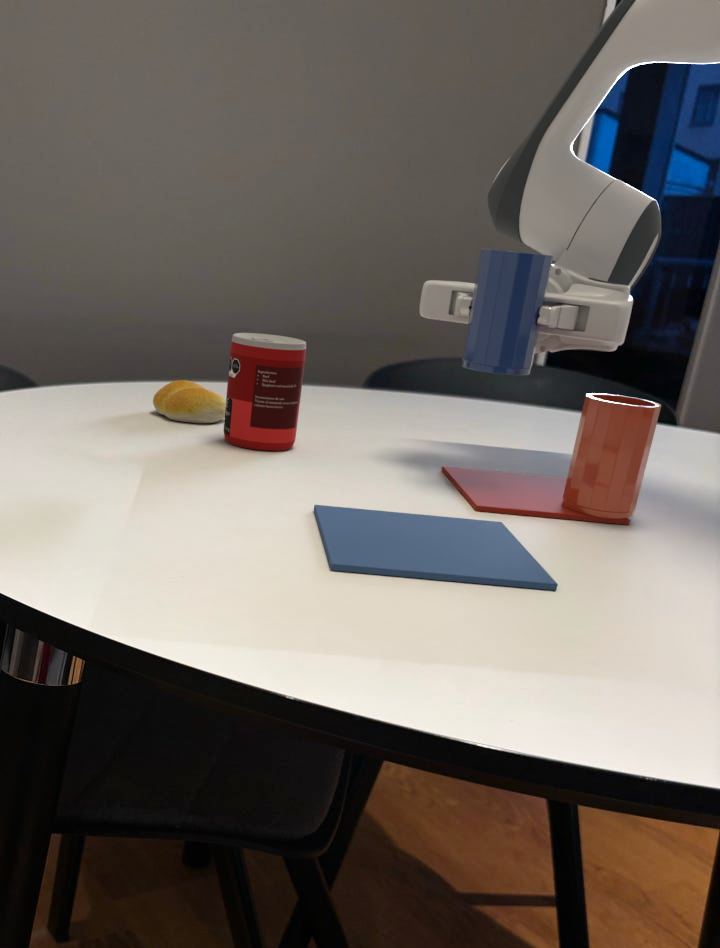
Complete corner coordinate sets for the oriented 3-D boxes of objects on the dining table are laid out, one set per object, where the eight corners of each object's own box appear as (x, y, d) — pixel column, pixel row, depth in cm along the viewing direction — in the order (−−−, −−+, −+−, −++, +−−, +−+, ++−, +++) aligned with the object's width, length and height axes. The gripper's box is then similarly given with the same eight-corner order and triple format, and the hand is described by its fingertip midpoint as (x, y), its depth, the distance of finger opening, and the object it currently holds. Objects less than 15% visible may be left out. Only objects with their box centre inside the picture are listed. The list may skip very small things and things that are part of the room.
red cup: (618, 503, 97) (644, 397, 93) (644, 521, 91) (673, 409, 87) (553, 497, 96) (576, 390, 93) (574, 515, 91) (600, 402, 87)
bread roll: (178, 425, 114) (181, 389, 113) (143, 410, 121) (145, 375, 120) (240, 424, 118) (244, 389, 117) (203, 409, 125) (205, 376, 124)
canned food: (244, 432, 114) (254, 331, 110) (307, 445, 111) (320, 341, 106) (208, 441, 108) (217, 334, 104) (274, 455, 104) (286, 345, 100)
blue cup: (519, 368, 99) (541, 254, 95) (537, 377, 93) (562, 256, 89) (455, 362, 99) (474, 247, 95) (469, 371, 93) (490, 249, 89)
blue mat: (500, 527, 86) (501, 521, 86) (556, 590, 71) (558, 584, 71) (313, 510, 85) (314, 504, 85) (330, 570, 70) (331, 563, 70)
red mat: (573, 483, 106) (574, 478, 106) (628, 525, 91) (630, 519, 91) (441, 470, 105) (442, 465, 105) (475, 510, 91) (476, 505, 90)
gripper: (448, 266, 108) (403, 264, 97) (647, 287, 100) (624, 287, 88) (438, 327, 110) (393, 332, 99) (632, 353, 102) (607, 362, 91)
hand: (504, 311), depth 94 cm, fingers closed on blue cup, 6 cm apart
